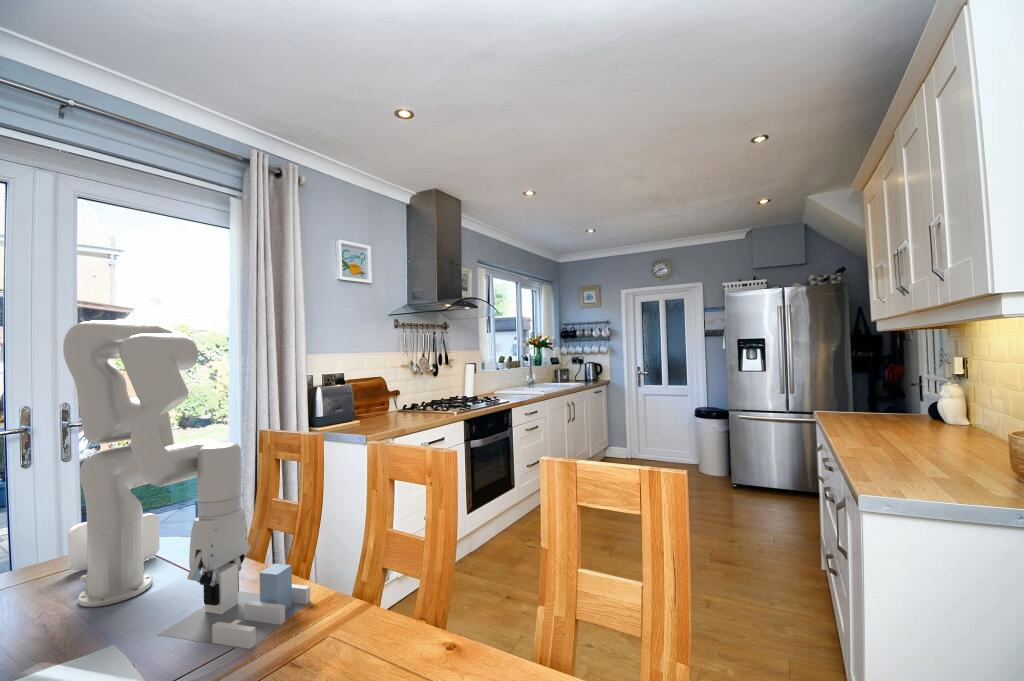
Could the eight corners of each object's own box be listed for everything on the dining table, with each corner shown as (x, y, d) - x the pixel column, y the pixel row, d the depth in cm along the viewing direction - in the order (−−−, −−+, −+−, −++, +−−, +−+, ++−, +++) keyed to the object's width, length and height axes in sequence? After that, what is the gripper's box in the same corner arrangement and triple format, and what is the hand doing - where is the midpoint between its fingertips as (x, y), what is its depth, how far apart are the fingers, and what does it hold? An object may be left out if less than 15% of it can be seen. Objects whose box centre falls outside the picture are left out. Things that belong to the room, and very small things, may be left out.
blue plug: (260, 614, 92) (259, 572, 92) (275, 603, 96) (274, 563, 96) (277, 616, 91) (277, 574, 91) (292, 605, 95) (291, 565, 95)
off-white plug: (205, 611, 93) (204, 570, 93) (222, 601, 97) (221, 561, 97) (221, 614, 92) (221, 572, 92) (238, 603, 96) (237, 563, 96)
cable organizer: (88, 583, 110) (87, 532, 110) (66, 574, 114) (66, 525, 115) (160, 556, 123) (159, 511, 123) (138, 549, 128) (137, 506, 128)
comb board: (157, 643, 86) (157, 618, 86) (230, 597, 102) (229, 576, 102) (249, 658, 81) (249, 631, 81) (311, 607, 97) (310, 585, 97)
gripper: (238, 492, 104) (239, 576, 104) (165, 519, 88) (167, 619, 88) (267, 494, 102) (268, 579, 102) (198, 522, 86) (200, 624, 86)
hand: (221, 596), depth 95 cm, fingers closed on off-white plug, 4 cm apart
